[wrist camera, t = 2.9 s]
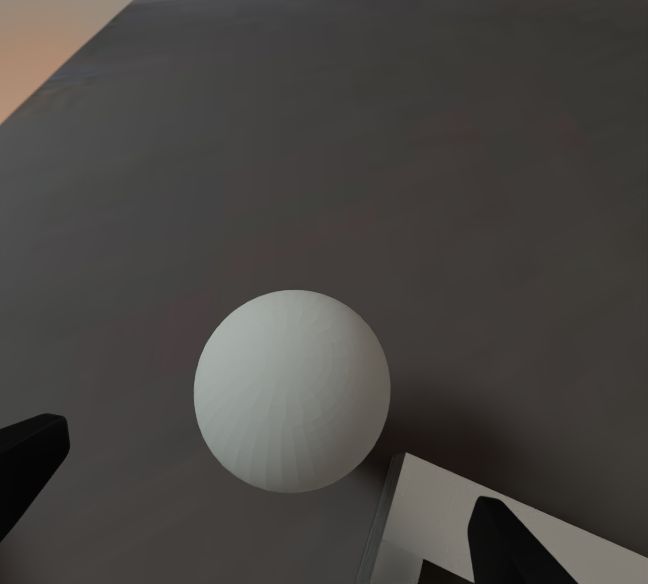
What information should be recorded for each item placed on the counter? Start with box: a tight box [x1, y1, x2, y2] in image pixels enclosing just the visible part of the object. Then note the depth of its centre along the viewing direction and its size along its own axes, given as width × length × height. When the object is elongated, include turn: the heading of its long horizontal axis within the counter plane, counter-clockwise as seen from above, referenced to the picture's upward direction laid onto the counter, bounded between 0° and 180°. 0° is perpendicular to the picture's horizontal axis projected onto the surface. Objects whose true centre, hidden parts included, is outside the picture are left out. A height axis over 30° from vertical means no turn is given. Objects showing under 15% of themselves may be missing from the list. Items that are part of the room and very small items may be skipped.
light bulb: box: [194, 290, 390, 493], centre depth 13 cm, size 6×6×10 cm
